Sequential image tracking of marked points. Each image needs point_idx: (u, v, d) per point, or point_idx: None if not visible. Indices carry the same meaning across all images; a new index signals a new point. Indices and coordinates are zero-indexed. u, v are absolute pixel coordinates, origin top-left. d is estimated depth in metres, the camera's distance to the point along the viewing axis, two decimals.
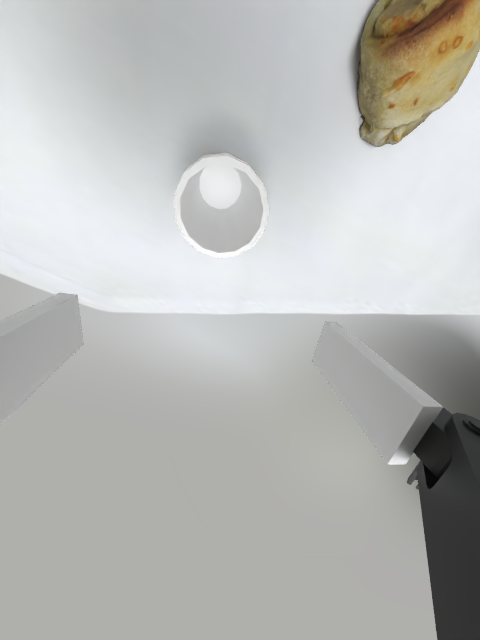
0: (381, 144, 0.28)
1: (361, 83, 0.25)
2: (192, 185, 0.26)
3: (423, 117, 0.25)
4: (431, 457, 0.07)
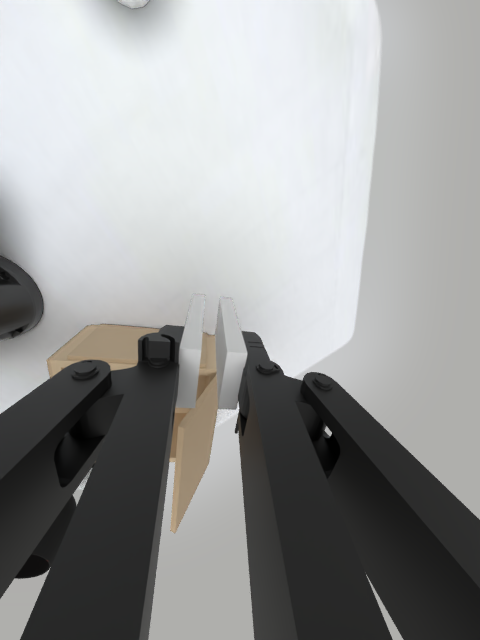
0: None
1: None
2: None
3: None
4: (242, 406, 0.08)
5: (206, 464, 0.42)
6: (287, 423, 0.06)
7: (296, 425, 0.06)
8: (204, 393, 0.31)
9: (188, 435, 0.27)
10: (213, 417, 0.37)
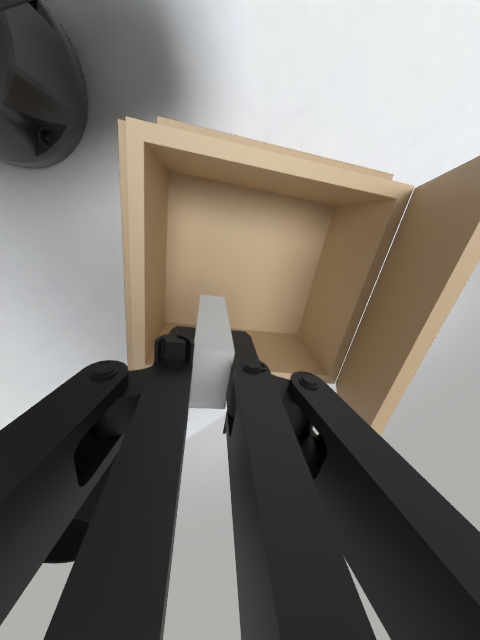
0: None
1: None
2: None
3: None
4: (230, 405, 0.08)
5: None
6: (273, 422, 0.06)
7: (282, 424, 0.06)
8: None
9: None
10: None
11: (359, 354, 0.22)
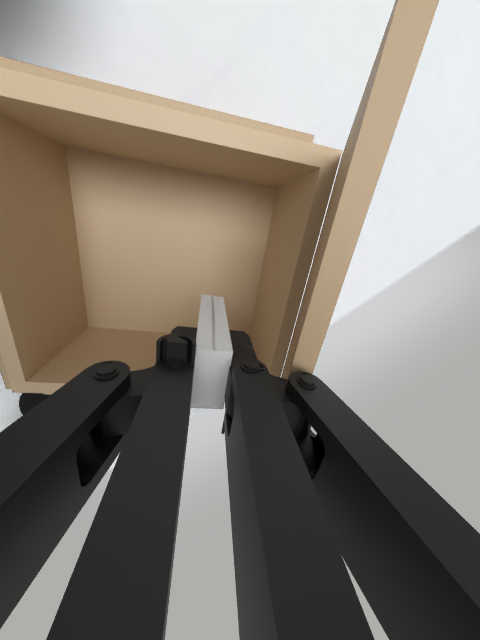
0: None
1: None
2: None
3: None
4: (228, 405, 0.08)
5: None
6: (271, 422, 0.06)
7: (280, 424, 0.06)
8: None
9: None
10: None
11: (284, 369, 0.18)
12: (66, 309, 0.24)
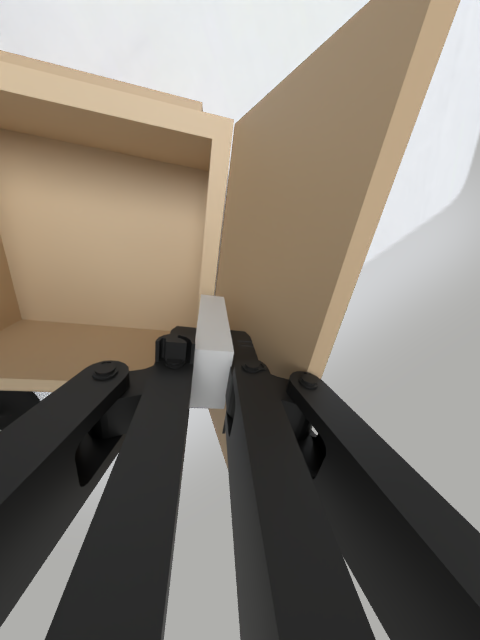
0: None
1: None
2: None
3: None
4: (229, 405, 0.08)
5: None
6: (272, 422, 0.06)
7: (281, 424, 0.06)
8: None
9: None
10: None
11: None
12: None
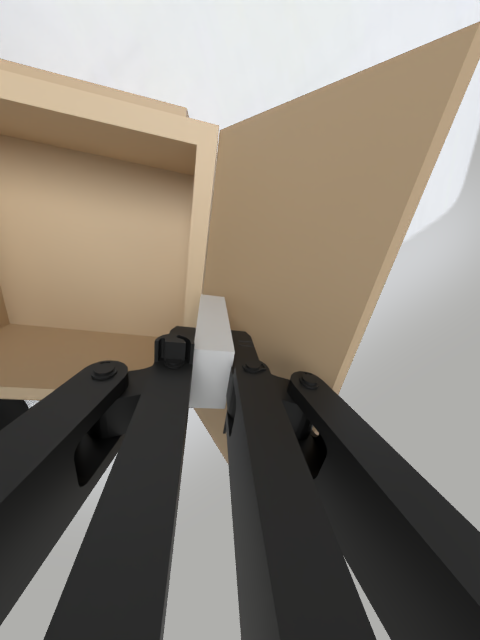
0: None
1: None
2: None
3: None
4: (230, 405, 0.08)
5: None
6: (273, 422, 0.06)
7: (282, 424, 0.06)
8: None
9: None
10: None
11: None
12: None
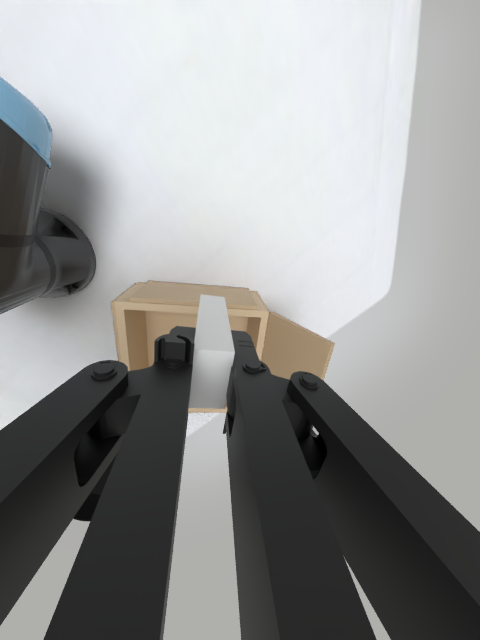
0: None
1: None
2: None
3: None
4: (230, 405, 0.08)
5: None
6: (273, 422, 0.06)
7: (282, 424, 0.06)
8: (296, 325, 0.33)
9: None
10: None
11: None
12: (143, 367, 0.47)
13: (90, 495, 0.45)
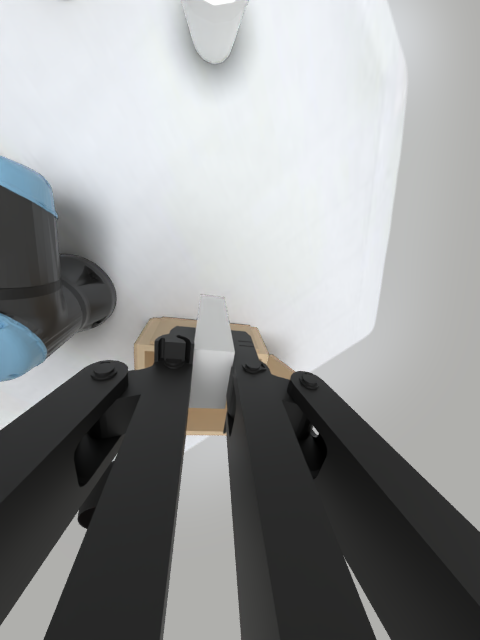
0: None
1: None
2: None
3: None
4: (230, 405, 0.08)
5: None
6: (273, 422, 0.06)
7: (282, 424, 0.06)
8: (291, 371, 0.39)
9: None
10: None
11: None
12: None
13: None
